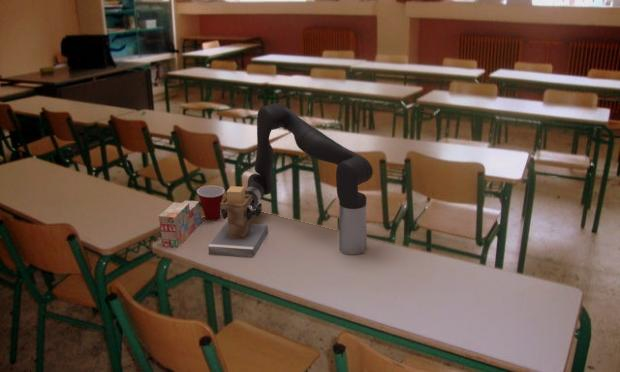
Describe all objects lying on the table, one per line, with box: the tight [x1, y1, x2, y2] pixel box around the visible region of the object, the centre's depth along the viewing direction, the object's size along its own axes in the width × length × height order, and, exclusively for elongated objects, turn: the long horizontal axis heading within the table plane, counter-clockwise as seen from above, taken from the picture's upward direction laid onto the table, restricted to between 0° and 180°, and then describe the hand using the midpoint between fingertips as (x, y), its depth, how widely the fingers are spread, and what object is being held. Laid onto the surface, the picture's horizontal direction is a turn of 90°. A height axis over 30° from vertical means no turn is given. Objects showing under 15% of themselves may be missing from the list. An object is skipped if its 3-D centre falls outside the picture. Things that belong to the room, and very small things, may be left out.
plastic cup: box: [196, 184, 225, 221], centre depth 220 cm, size 11×11×12 cm
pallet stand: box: [220, 195, 252, 239], centre depth 198 cm, size 9×9×14 cm
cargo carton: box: [226, 185, 246, 204], centre depth 195 cm, size 5×5×5 cm
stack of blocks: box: [158, 200, 202, 248], centre depth 207 cm, size 21×6×12 cm, turn 167°
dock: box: [207, 221, 269, 258], centre depth 201 cm, size 16×20×3 cm
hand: (235, 217), depth 196 cm, fingers open, 8 cm apart
